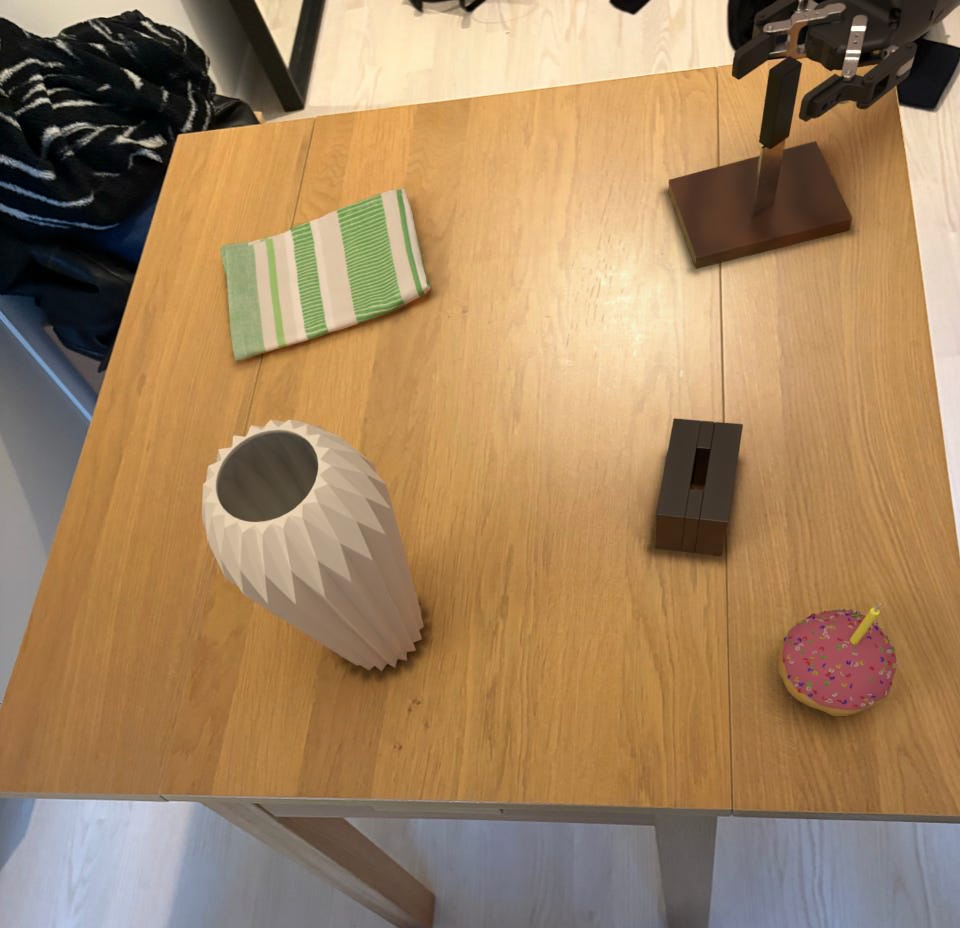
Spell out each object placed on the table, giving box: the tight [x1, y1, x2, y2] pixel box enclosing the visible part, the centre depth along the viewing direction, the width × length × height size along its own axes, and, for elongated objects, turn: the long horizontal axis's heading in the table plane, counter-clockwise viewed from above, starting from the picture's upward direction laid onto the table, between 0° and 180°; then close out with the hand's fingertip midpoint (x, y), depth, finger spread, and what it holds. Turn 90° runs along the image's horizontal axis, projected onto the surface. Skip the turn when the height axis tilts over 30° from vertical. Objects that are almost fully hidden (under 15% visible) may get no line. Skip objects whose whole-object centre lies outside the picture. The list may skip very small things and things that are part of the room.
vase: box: [201, 418, 425, 672], centre depth 65 cm, size 13×13×26 cm
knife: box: [751, 56, 803, 219], centre depth 79 cm, size 2×3×15 cm, turn 126°
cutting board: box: [667, 140, 853, 269], centre depth 88 cm, size 16×12×2 cm
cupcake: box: [777, 602, 899, 717], centre depth 63 cm, size 9×8×12 cm
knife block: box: [654, 418, 744, 556], centre depth 74 cm, size 6×10×6 cm, turn 167°
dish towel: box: [220, 188, 432, 362], centre depth 95 cm, size 18×23×3 cm
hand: (768, 88), depth 73 cm, fingers open, 8 cm apart
